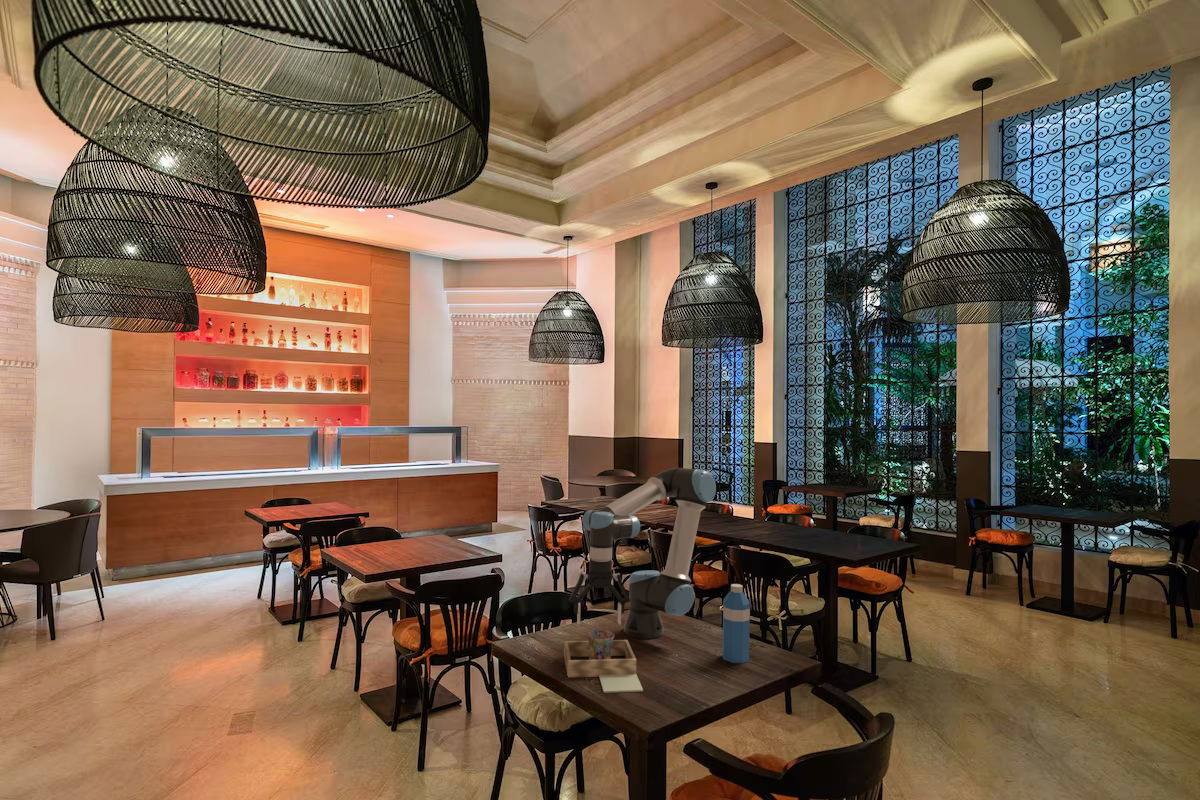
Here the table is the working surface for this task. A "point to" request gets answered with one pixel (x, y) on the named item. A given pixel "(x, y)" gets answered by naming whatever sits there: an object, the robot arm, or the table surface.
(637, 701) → the table surface
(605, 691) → the mat
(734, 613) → the water bottle
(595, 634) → the mug
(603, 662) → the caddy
